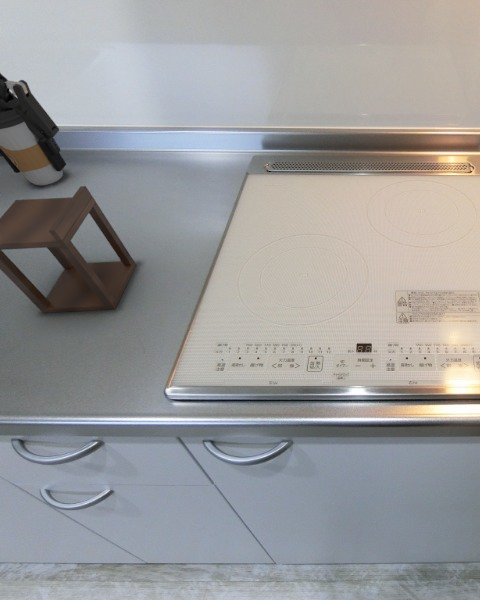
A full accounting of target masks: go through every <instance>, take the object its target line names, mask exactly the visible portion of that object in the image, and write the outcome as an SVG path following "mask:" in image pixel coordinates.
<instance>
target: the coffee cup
mask: <svg viewBox="0 0 480 600" xmlns="http://www.w3.org/2000/svg"><path fill="white" fill-rule="evenodd" d="M8 102H9V99H8V100H7V101H6V103H8ZM19 102H20V101H19ZM15 110H16V111H22V105H21V102H20V104H19V105H18V106H17V107H16V108H15V109H11V110H8V111H6V110H4V109H2V108H1V107H0V148H1V149H2V151H3V152H4V153H5V154H6V155H7V156H8V158H9V159H10V160H11V161H12V162H13V164H14V165H15V166H16V167H17V168H18V169H19V171H20V172H19V173H21V174H22V175H23V176H24V177H25V179H27V181H28V182H29V183H32V184H33V185H34V186H35V185H36V186H47V185H51V184H53V183H55V182H57V181H59V180H60V179H61V178H62V177H63V176H64V172H63V171H64V170H63V169H62V170H61V171H56V169H55V168H54V166H53V165H52V163H51V162H50V160H49V159H48V157H47V156H46V154H45V153H44V151H43V150H42V148H41V147H40V145H39V144H38V141H39V140H40V139H39V138H38V137H37V136H36V135H35V134H34V133H32V132H31V131H30V130H29V129H28V127H27V125H26V124H25V120H24V119H23V118H22V117H21V116H23V115H25V114H26V113H27V110H24V111H23V112H22V113H21V115H18V114H17V113H16V111H15Z"/></svg>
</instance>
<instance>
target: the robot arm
mask: <svg viewBox="0 0 480 600" xmlns="http://www.w3.org/2000/svg"><path fill="white" fill-rule="evenodd" d="M8 99H9V102H8V103H6V101H7V100H8ZM19 101H20V102H21V105H22V111H16V110H15V111H16V113H17V114H18V115H21V113H22V112H23V111H24V110H27V113H26V114H25V115H23V116H21V117H22V118H23V119H24V120H25V124H26V125H27V127H28V129H29V130H30V131H31V132H32V133H34V134H35V135H36V136H37V137H38V138H39V139H40V140H39V141H38V144H39V145H40V147H41V148H42V150H43V151H44V153H45V154H46V156H47V157H48V159H49V160H50V162H51V163H52V165H53V166H54V168H55V169H56V171H61V170H63V169H64V168H65V167H66V166H67V163H66V161H65V160H64V158H63V157H62V155H61V148H60V146H59V145H58V143H57V141H56V140H55V138H54V137H55V136H56V135H57V134H58V133H59V132H60V128H59V127H58V125H57V124H56V123H55V121H54V120H53V119H52V117H51V116H50V114H48V113H47V111H46V110H45V109H44V108H43V106H42V104H41V103H40V102H39V101H38V99H36V97H35V96H34V94H33V93H32V91H31V89H30V87H29V85H28V82H27V81H25V80H24V79H20V80H18V81H13V80H8V78H6V77H5V76H4V75H3V74H2V73H1V72H0V107H1V108H2V109H4V110H6V111H8V110H11V109H15V108H16V107H17V106H18V105H19V104H20V102H19ZM0 157H3V159H4V160H5V161H6V162H7V164H8V166H10V168H11V170H12V171H13V172H14V173H15V174H20V173H21V172H20V171H19V169H18V168H17V167H16V166H15V165H14V164H13V162H12V161H11V160H10V159H9V158H8V156H7V155H6V154H5V153H4V152H3V151H2V149H1V148H0Z"/></svg>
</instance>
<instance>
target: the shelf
mask: <svg viewBox="0 0 480 600" xmlns="http://www.w3.org/2000/svg"><path fill="white" fill-rule="evenodd" d="M88 215H90V217H91V218H92V220H93V221H94V223H95V224H96V226H97V227H98V229H99V231H100V232H101V233H102V235H103V237H104V238H105V239H106V241H107V242H108V244H109V245H110V246H111V248H112V249H113V251H114V252H115V254H116V255H117V257H118V259H119V260H120V261H117V260H116V261H97V262H88V261H86V259H85V257H84V256H83V255H82V254H81V252H80V251H79V250H78V248H77V247H76V246H75V245H74V243H73V242H72V240H73V238H74V236H75V235H76V233H77V232H78V231H79V229H80V227H81V226H82V224H83V223H84V221H85V219H86V218H87V217H88ZM43 248H45V249H48V251H49V252H50V254H52V256H53V257H54V258H55V260H56V261H57V262H58V263H59V264H60V265H61V267H62V268H63V271H62V272H61V274H60V275H59V277H58V278H57V280H56V281H55V283H54V285H53V286H52V288H51V290H50V291H49V293H48V294H47V296H45V295H44V294H43V293H42V292H41V291H40V290H39V288H38V287H36V286H35V284H34V283H33V282H32V281H31V280H30V279H29V278H28V277H27V276H26V275H25V273H23V271H21V269H20V268H19V267H17V265H16V264H15V263H14V262H13V261H12V259H10V258H9V257H8V256H7V254H5V252H4V251H5V250H23V249H24V250H25V249H27V250H28V249H43ZM136 266H137V264H136V262H135V260H134V258H133V257H132V255H131V254H130V253H129V251H128V249H127V248H126V246H125V244H124V243H123V242H122V240H121V238H120V237H119V235H118V233H117V232H116V231H115V229H114V228H113V226H112V225H111V223H110V221H109V220H108V218H107V216H106V215H105V213H104V212H103V210H102V209H101V207H100V206H99V204H98V202H97V201H96V200H95V198H94V196H93V195H92V193H91V192H90V190H89V189H88V187H87V186H86V185H81V186H79V188H78V189H77V191H76V192H75V193H74V195H73V196H72V197H71V196H70V197H50V198H28V199H27V198H26V199H15V200H14V201H13V202H12V204H11V205H10V206H9V207H8V208H7V209H6V211H5V212H4V213H3V214H2V215H1V216H0V271H1V272H2V273H3V274H4V275H5V276H6V277H7V278H8V279H9V280H10V281H11V282H12V283H13V284H14V285H15V286H16V287H17V288H18V289H19V290H20V291H21V292H22V293H23V294H24V295H25V296H26V297H27V298H28V299H29V300H30V301H31V302H32V303H33V304H34V305H35V306H36V307H37V309H39V311H41V312H42V314H48V313H49V314H50V313H66V312H67V313H69V312H85V311H103V310H116V308H117V306H118V304H119V302H120V300H121V298H122V296H123V293H124V291H125V289H126V287H127V285H128V283H129V282H130V279H131V277H132V275H133V273H134V271H135V268H136Z"/></svg>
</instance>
